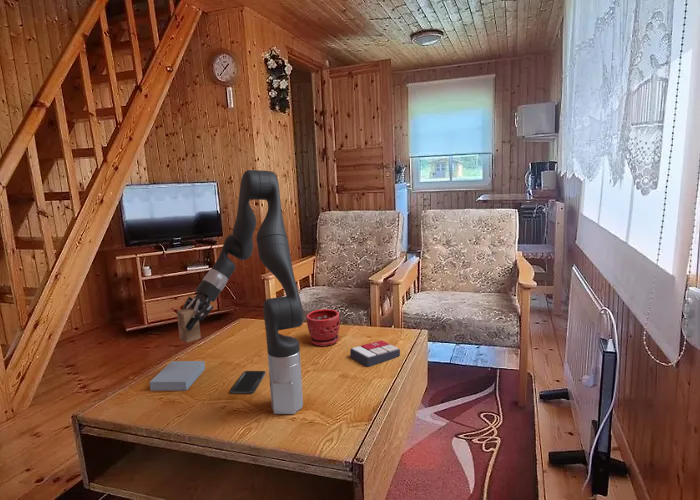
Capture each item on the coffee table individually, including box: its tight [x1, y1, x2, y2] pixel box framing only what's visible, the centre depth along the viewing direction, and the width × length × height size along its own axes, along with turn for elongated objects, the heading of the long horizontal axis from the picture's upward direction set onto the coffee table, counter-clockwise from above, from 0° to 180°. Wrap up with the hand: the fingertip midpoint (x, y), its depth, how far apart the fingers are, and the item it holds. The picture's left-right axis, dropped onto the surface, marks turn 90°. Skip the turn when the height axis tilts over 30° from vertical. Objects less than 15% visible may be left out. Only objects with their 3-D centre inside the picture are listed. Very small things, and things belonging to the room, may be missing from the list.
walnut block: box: [176, 308, 202, 344], centre depth 154 cm, size 5×5×10 cm
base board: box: [149, 360, 206, 392], centre depth 154 cm, size 16×12×3 cm
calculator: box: [349, 340, 401, 368], centre depth 167 cm, size 11×4×15 cm
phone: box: [229, 370, 267, 395], centre depth 150 cm, size 8×1×15 cm
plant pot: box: [306, 308, 341, 347], centre depth 182 cm, size 13×13×12 cm
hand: (183, 327), depth 152 cm, fingers closed on walnut block, 5 cm apart
